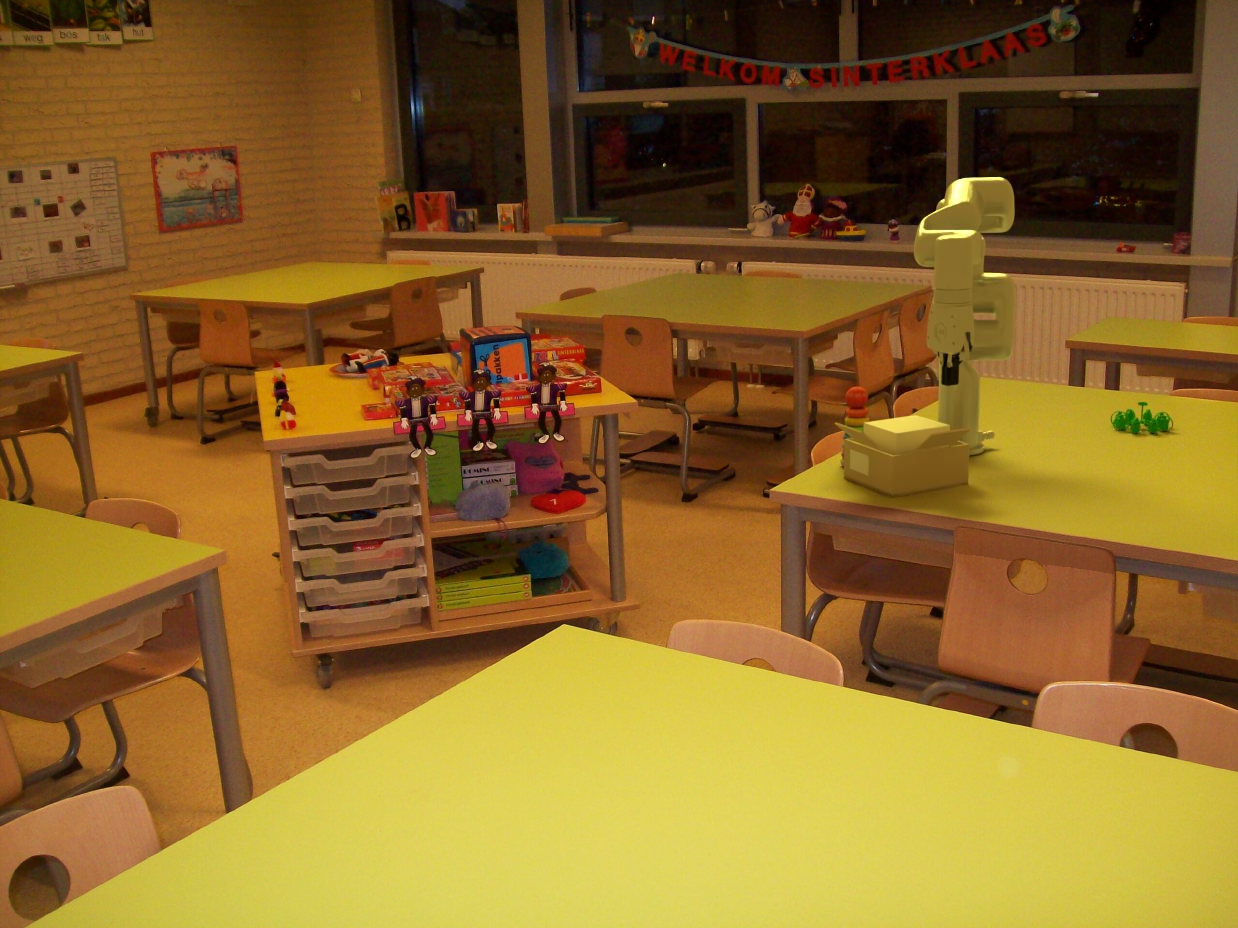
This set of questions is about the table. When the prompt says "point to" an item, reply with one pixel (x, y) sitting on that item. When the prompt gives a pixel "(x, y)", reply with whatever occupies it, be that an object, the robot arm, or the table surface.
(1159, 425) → the chandelier
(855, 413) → the stacking toy
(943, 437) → the flap left
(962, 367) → the robot arm
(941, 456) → the carton
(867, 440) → the flap far
